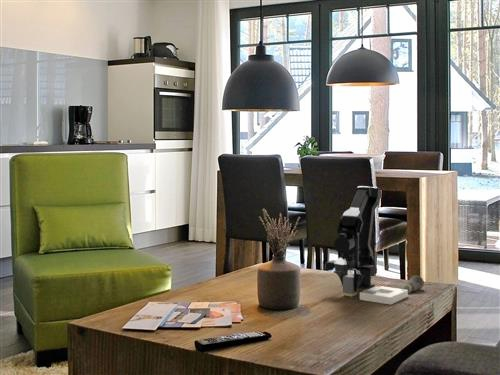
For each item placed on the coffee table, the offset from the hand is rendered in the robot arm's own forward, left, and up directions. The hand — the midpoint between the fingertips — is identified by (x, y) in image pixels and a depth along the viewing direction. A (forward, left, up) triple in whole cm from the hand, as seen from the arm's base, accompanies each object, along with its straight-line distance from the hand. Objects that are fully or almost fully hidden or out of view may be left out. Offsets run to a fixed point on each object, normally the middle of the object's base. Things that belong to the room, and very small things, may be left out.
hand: (350, 290), depth 256 cm
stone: (-21, +16, -2) cm, 26 cm away
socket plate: (-3, +12, -2) cm, 12 cm away
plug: (0, 0, -2) cm, 2 cm away
